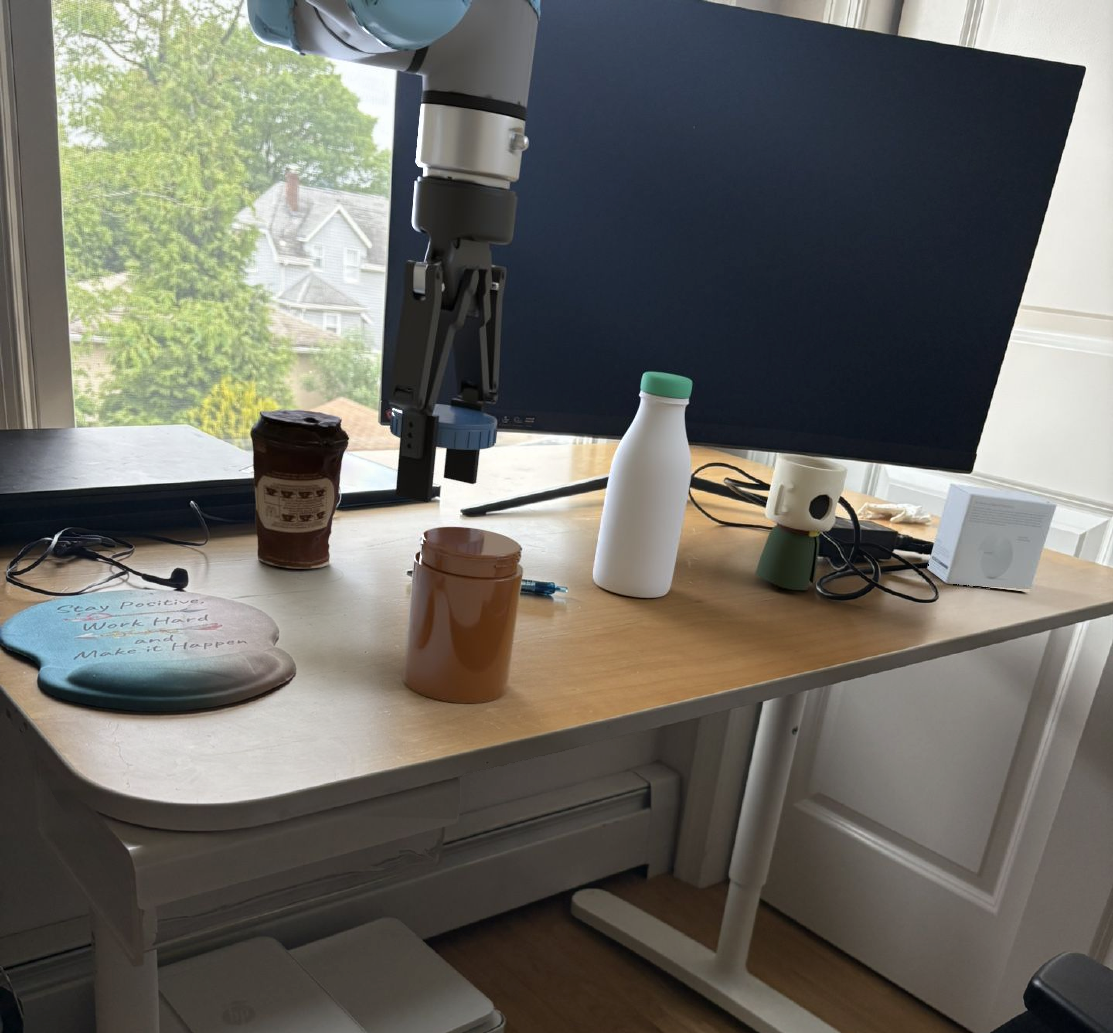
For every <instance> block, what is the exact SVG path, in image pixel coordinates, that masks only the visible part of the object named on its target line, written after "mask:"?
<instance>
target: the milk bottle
mask: <svg viewBox="0 0 1113 1033" xmlns="http://www.w3.org/2000/svg"><path fill="white" fill-rule="evenodd" d="M692 390H693V380H692V379H691V378H689V377H686V376H682V375H677V374H673V373H666V372H660V371H646V372H644V373H643V374H642V377H641V381H640V392H639V394H638V396H639V397H640V403H639V407H638V409H637V412H636V414H635V417H634V419H633V421H632V422H631V424H630V426H629V427H628V429H627V431H626V432H625V433H624V435H623V437H622V438H621V440H620V442H619V444H618V446H617V447H616V450H615V452H614V455H613V458H612V461H611V464H610V469H609V474H608V480H607V485H606V490H605V497H604V502H603V508H602V513H601V519H600V526H599V531H598V536H597V537H598V538H597V543H596V550H595V557H594V562H593V570H592V578H593V581H594V583H595V584H596V585H597V586H598V587H600V588H602V589H604V590H606V591H609V592H611V593H615V594H618V595H622V596H627V597H631V598H632V597H633V598H641V599H642V598H644V599H645V598H646V599H650V598H651V599H652V598H661V597H663V596H665V595H667V594H668V593H669V591H670V589H671V587H672V582H673V577H674V572H675V566H676V562H677V557H678V551H679V546H680V543H681V542H680V541H681V536H682V530H683V525H684V520H685V514H686V509H687V504H688V500H689V499H688V498H689V492H690V485H691V479H692V454H691V449H690V445H689V441H688V437H687V430H686V419H685V417H686V416H685V414H686V413H685V412H686V407H687V406H688V405H689V404H690V398H691V394H692Z"/></svg>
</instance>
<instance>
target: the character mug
mask: <svg viewBox="0 0 1113 1033" xmlns="http://www.w3.org/2000/svg"><path fill="white" fill-rule="evenodd" d="M847 474H848V468H847V467H846V466H845V465H842V464H841V463H837V462H834V461H831V460H828V459H824V458H820V457H815V456H810V455H803V454H793V453H782V454H778V455H777V457H776V461H775V465H774V470H773V474H772V478H771V484H770V487H769V492H768V495H767V496H768V497H767V501H766V504H765V514H764V515H765V518H767V519H768V520H770V521H772V522H773V523H775V524H776V525H774V526H773V528H772V529H771V530H770V532H769V533H768V536H767V539H766V541H765V543H764V546H763V549H762V552H761V554H760V558H759V561H758V563H757V566H756V569H755V573H754V575H755V576H757V577H758V578H760V579H763V580H765V581H767V582H769V583H772V584H773V588H776V589H777V588H779V587H780V588H782V589H787V590H792V591H808V589H809V584H810V583H811V584H812V585H811V589H814V586H815V582H816V574H817V570H818V562H819V552H820V551H819V549H820V537H819V536H820V534H821V532H829V531H831V530H832V528H833V527H834V526H835V523H836V510H837V505H838V503H839V500H840V497H841V496H842V493H843V492H844V486H845V483H846V482H845V481H846V477H847Z"/></svg>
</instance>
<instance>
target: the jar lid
mask: <svg viewBox="0 0 1113 1033" xmlns="http://www.w3.org/2000/svg"><path fill="white" fill-rule="evenodd" d="M433 415H438V416H439V424H438V435H437V445H436V448H441V449H446V448H448V449H461V450H479V449H480V450H486V449H491V448H493V447H494V446H495V444H496V443H497V437H498V419H497V418H496V417H494V416H493V415H491V414H488V413H486V412H484V413H483V412H479V411H475V410H471V409H467V408H461V407H456V406H451V405H449V404H443V403H442V404H441V403H436V404H435V408H434V412H433ZM389 421H390V422H389V431H390V433H391V434H392V435H393V436H395V437H396V438H399V439H400V435H401V423H402V410H398V409H393V408H391V412H390V420H389Z"/></svg>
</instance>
